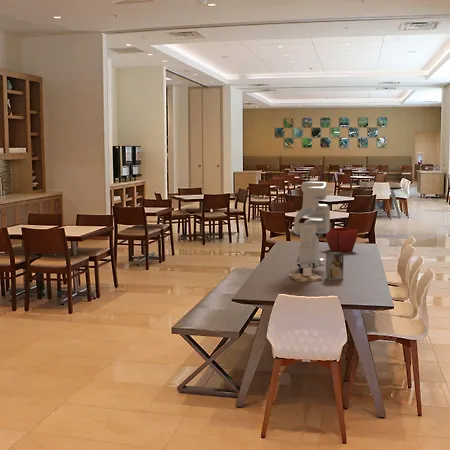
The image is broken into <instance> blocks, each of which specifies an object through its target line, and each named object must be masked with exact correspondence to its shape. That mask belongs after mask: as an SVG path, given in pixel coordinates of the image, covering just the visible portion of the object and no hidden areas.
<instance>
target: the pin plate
mask: <svg viewBox="0 0 450 450" xmlns="http://www.w3.org/2000/svg"><path fill="white" fill-rule="evenodd" d="M288 275H289V276H288V277H290V278H292V279H293V280H294V281H296V282H297V283H298V282H299V283H300V282H318V281H320V280H323V277H322V276H320V275H318V274H316V273H314V272H312V276H303V275H302V274H300V272H299V273H289V274H288ZM320 282H321V281H320Z"/></svg>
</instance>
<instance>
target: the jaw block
mask: <svg viewBox="0 0 450 450" xmlns="http://www.w3.org/2000/svg"><path fill="white" fill-rule="evenodd" d="M302 268H303V274H302V275H303V276H312V273H313V268H312V267H310V266H308V265H303V266H302Z"/></svg>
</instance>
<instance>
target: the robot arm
mask: <svg viewBox="0 0 450 450" xmlns="http://www.w3.org/2000/svg"><path fill="white" fill-rule="evenodd" d="M328 185H329V184H328V183H327V182H326V181H303V182H302V183H301V185H300V188H301V191H302V193H303V197H302V207H301V209H300V210H299V211H298V212H297V213H296V215H295V217H294V222H293V232H294V234H295V235H296V236H297V235H298V236H299V237H300V238H299V246H298V248H297V253H296V254H297V255H296V256H297V257H296V260H294V264H295V265H296V266H298V268H299V270H298V271H299V273H300V274H303V268H302V266H305V265H308V266H310V267H312V269H313V267H318V266H321V265H322V264H321V263H323V262H325V263H326V258H320V257H319V253H320V251H319V249H320V248H319V247H320V241H319V237H318V235H316V234H325V233H328V232H329V230H330V228H331V223H330V222H331V220H330V219H331V210H330V206H329V205H328V204H325V203H319V202H320V201H324V200H326V198H327V195H328V191H329V186H328ZM305 216H307V218H308V219H305V220H304V222H300V220H301V219H302V218H303V217H305Z"/></svg>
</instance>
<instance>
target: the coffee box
mask: <svg viewBox="0 0 450 450" xmlns="http://www.w3.org/2000/svg"><path fill="white" fill-rule="evenodd" d="M325 279H327V280H329V281H336V280H344V253H343V252H336V251H335V252H326V253H325Z"/></svg>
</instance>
